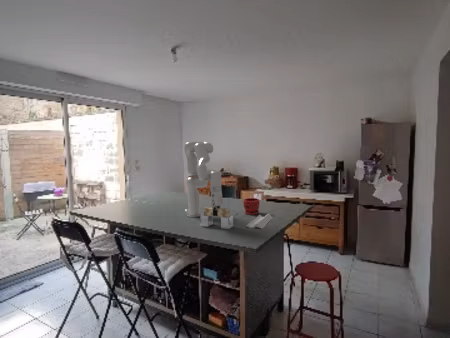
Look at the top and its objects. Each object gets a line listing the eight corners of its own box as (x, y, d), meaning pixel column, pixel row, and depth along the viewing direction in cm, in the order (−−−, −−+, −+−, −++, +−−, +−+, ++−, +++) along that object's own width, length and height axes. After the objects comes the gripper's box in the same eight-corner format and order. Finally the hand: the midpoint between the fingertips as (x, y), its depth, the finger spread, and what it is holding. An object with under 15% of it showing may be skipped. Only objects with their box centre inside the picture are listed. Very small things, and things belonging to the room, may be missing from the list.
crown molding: (258, 217, 220) (258, 212, 220) (273, 218, 215) (273, 214, 215) (245, 227, 191) (245, 222, 191) (262, 229, 186) (262, 224, 186)
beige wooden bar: (203, 215, 196) (203, 208, 196) (206, 214, 200) (206, 207, 199) (227, 217, 189) (227, 209, 188) (229, 215, 192) (229, 208, 192)
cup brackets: (200, 226, 196) (200, 215, 195) (205, 223, 203) (205, 213, 202) (229, 229, 187) (229, 218, 186) (233, 226, 194) (233, 215, 193)
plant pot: (247, 211, 240) (247, 197, 239) (262, 212, 233) (261, 198, 232) (240, 214, 228) (240, 199, 228) (255, 216, 222) (255, 201, 221)
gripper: (215, 190, 184) (216, 218, 185) (225, 187, 199) (226, 212, 200) (205, 190, 187) (206, 217, 188) (216, 187, 202) (216, 212, 203)
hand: (216, 214), depth 194 cm, fingers closed on beige wooden bar, 4 cm apart
